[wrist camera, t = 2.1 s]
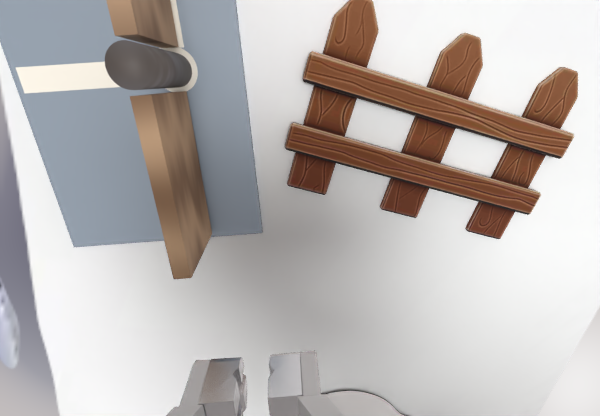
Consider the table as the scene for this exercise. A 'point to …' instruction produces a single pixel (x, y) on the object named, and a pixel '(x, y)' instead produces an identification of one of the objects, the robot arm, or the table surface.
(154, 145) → the swing panel
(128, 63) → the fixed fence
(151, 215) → the card
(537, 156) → the decorative fence
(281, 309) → the table surface
